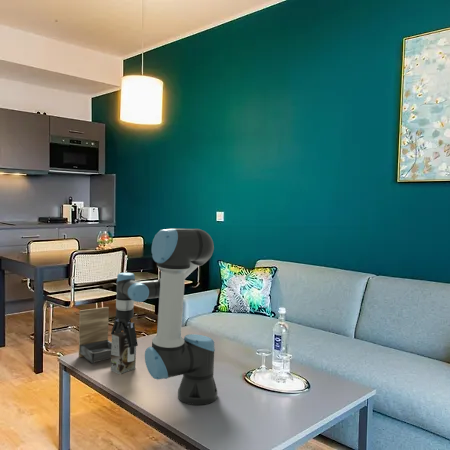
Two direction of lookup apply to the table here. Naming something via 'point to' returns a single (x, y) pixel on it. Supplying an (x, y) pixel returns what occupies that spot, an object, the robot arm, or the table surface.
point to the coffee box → (121, 354)
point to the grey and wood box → (94, 334)
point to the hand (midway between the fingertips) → (123, 356)
